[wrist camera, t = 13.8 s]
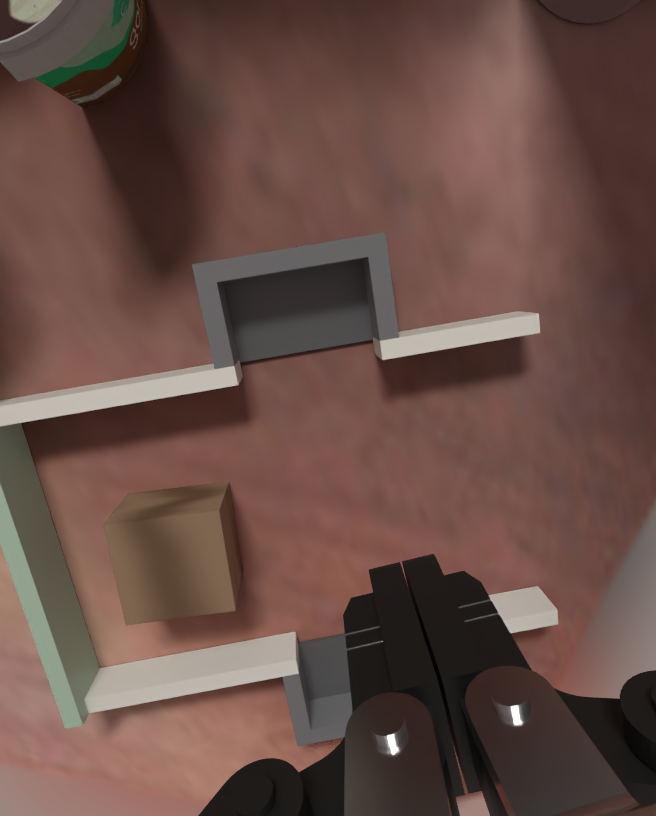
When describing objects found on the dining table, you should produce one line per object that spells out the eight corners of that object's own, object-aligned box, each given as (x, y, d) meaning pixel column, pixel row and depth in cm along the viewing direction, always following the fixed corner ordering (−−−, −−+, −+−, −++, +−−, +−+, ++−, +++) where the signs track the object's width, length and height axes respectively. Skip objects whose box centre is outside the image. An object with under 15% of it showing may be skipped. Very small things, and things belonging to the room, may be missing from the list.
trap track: (510, 215, 33) (540, 205, 29) (543, 666, 41) (569, 705, 37) (-37, 306, 32) (-83, 308, 28) (109, 749, 40) (90, 798, 36)
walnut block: (229, 480, 36) (219, 510, 31) (243, 569, 37) (235, 610, 33) (129, 492, 35) (103, 525, 31) (147, 581, 37) (125, 625, 32)
